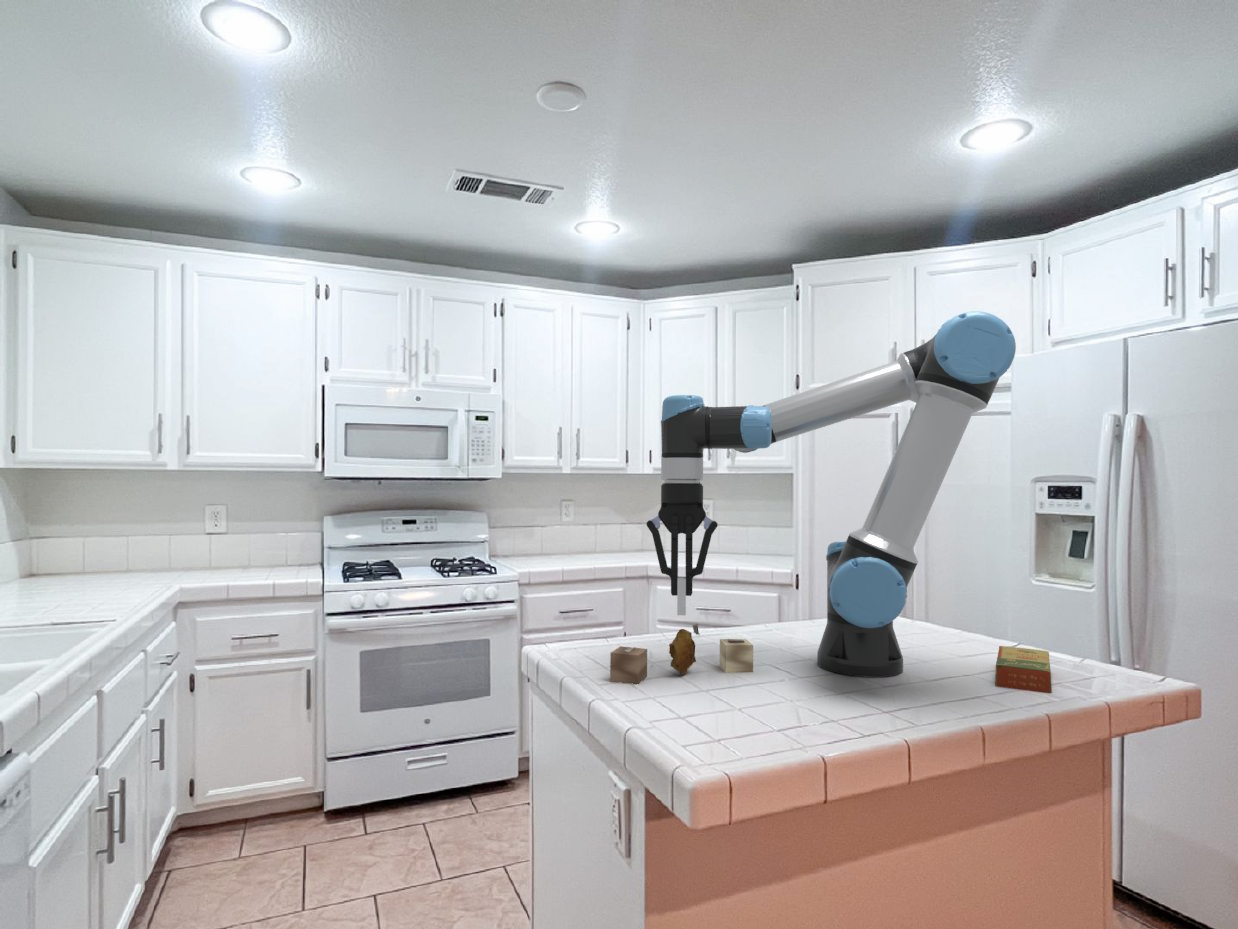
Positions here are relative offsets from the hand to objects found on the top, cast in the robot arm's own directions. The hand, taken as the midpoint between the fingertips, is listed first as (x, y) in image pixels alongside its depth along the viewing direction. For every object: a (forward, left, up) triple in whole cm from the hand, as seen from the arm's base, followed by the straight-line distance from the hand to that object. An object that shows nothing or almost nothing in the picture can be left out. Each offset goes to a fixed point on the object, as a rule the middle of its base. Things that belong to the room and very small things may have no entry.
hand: (681, 613), depth 131 cm
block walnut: (+9, +5, -11) cm, 15 cm away
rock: (-1, 0, -11) cm, 11 cm away
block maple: (-10, -4, -11) cm, 15 cm away
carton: (-60, -3, -11) cm, 61 cm away
